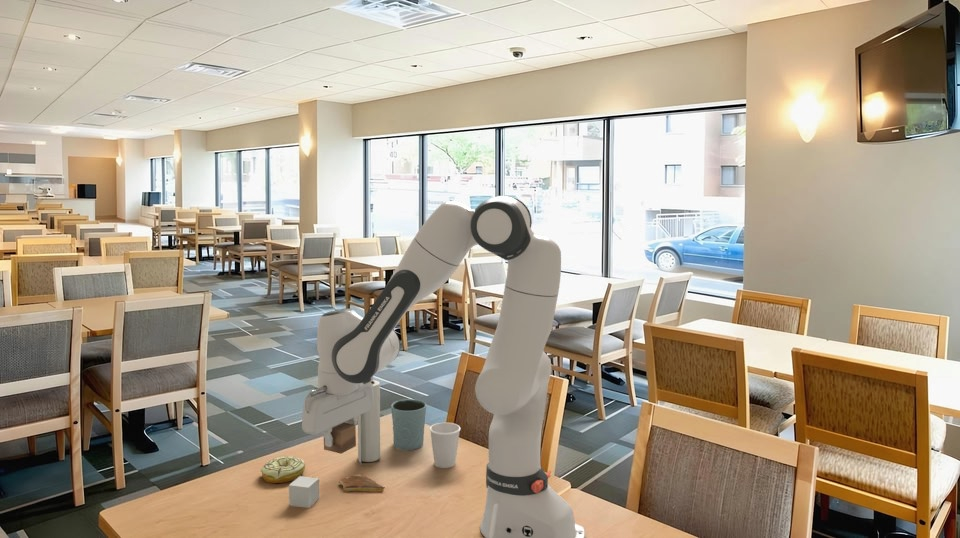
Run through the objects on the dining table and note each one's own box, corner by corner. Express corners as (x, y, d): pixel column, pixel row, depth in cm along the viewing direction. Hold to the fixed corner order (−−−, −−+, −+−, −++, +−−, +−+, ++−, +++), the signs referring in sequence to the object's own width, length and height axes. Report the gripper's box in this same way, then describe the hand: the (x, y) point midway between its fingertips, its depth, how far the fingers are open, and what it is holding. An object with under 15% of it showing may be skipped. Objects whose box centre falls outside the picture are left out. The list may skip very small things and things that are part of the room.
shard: (385, 493, 156) (385, 486, 156) (358, 503, 151) (358, 496, 150) (361, 478, 164) (361, 471, 164) (334, 487, 159) (334, 480, 158)
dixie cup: (423, 461, 174) (423, 425, 172) (450, 455, 178) (450, 420, 177) (439, 472, 167) (439, 435, 166) (466, 465, 171) (466, 429, 170)
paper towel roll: (373, 452, 180) (372, 377, 177) (384, 459, 175) (384, 382, 173) (350, 458, 175) (349, 382, 173) (360, 465, 170) (360, 387, 168)
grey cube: (319, 498, 152) (318, 478, 151) (308, 508, 147) (308, 487, 146) (300, 496, 153) (299, 476, 152) (289, 505, 148) (288, 485, 148)
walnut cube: (355, 446, 145) (355, 424, 145) (341, 453, 141) (340, 431, 141) (339, 442, 148) (338, 421, 147) (324, 449, 143) (323, 427, 143)
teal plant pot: (413, 435, 192) (413, 397, 191) (433, 445, 185) (433, 405, 183) (384, 443, 186) (384, 403, 185) (403, 454, 178) (403, 412, 177)
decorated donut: (252, 477, 163) (252, 463, 163) (288, 464, 172) (287, 450, 171) (277, 489, 157) (277, 474, 156) (313, 474, 165) (312, 460, 165)
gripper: (316, 395, 132) (318, 459, 134) (377, 372, 150) (378, 429, 152) (293, 391, 135) (296, 454, 137) (356, 368, 153) (357, 424, 155)
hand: (340, 440), depth 144 cm, fingers closed on walnut cube, 5 cm apart
